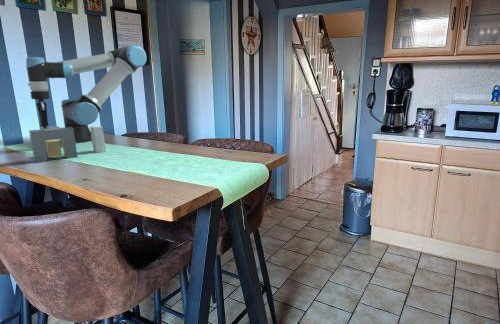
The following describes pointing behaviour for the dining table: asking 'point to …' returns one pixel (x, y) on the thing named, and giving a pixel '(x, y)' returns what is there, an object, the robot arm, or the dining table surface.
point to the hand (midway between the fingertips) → (46, 138)
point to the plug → (53, 148)
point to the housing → (51, 134)
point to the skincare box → (97, 139)
